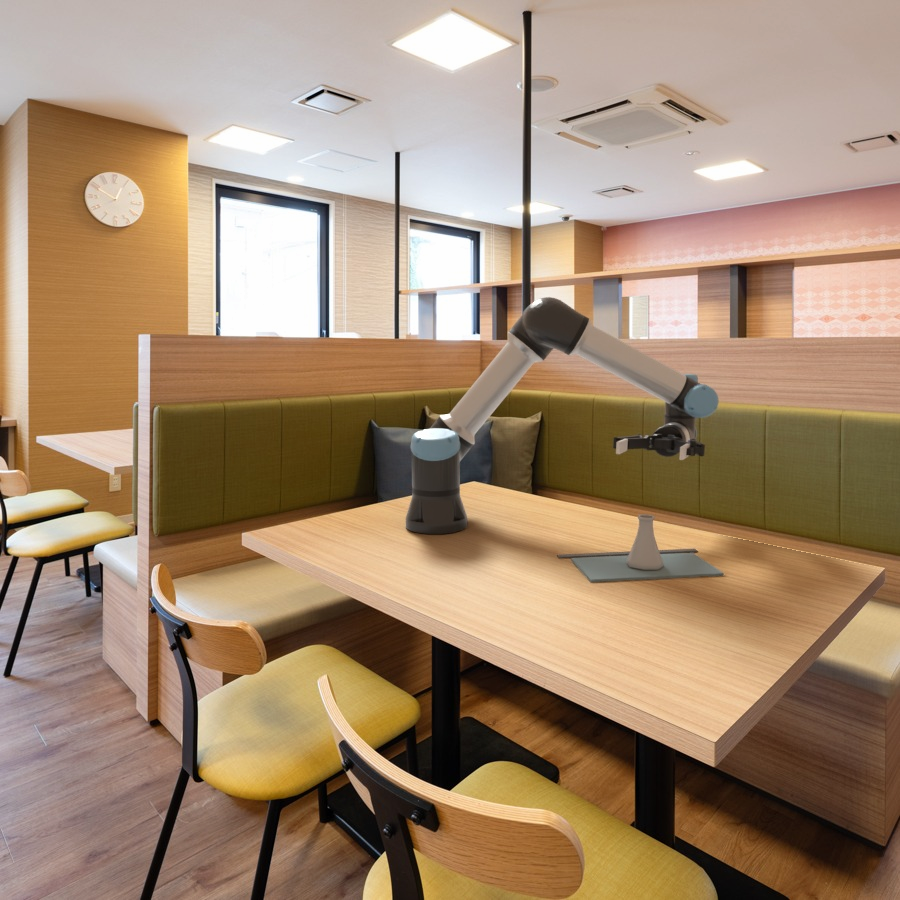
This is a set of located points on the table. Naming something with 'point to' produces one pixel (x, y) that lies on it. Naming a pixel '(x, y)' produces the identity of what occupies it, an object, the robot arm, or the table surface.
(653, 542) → the flask
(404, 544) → the table surface
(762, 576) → the table surface
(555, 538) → the table surface
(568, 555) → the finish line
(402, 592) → the table surface
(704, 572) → the mat
